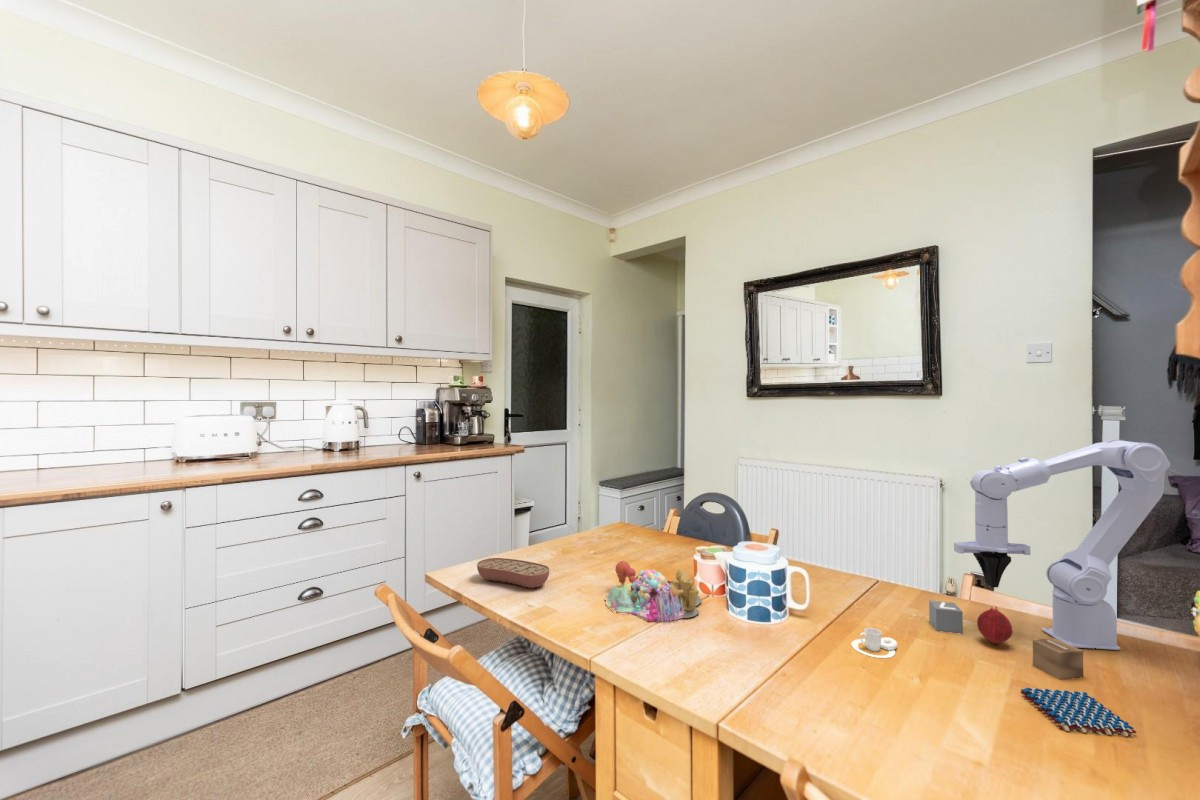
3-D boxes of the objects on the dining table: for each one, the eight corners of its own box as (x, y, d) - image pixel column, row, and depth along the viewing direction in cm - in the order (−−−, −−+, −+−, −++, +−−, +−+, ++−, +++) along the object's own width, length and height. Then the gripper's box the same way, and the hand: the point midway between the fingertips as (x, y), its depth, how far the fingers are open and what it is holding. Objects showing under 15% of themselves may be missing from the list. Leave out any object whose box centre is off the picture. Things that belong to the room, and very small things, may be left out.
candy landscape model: (694, 586, 140) (694, 553, 140) (712, 624, 116) (711, 584, 116) (604, 587, 140) (604, 554, 140) (604, 624, 117) (603, 585, 117)
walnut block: (1055, 664, 98) (1055, 637, 98) (1083, 678, 93) (1083, 650, 93) (1032, 665, 97) (1032, 639, 97) (1059, 680, 92) (1059, 652, 92)
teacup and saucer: (894, 645, 106) (894, 625, 106) (903, 663, 99) (903, 643, 99) (848, 638, 109) (848, 620, 109) (854, 656, 102) (854, 636, 102)
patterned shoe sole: (470, 582, 144) (470, 565, 144) (492, 571, 153) (492, 555, 153) (537, 595, 134) (537, 577, 134) (557, 583, 143) (556, 565, 143)
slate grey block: (954, 624, 115) (954, 602, 115) (962, 634, 110) (962, 611, 110) (929, 621, 116) (929, 599, 116) (936, 631, 112) (936, 608, 112)
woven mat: (1141, 742, 76) (1141, 728, 76) (1062, 735, 78) (1062, 722, 78) (1086, 701, 86) (1086, 689, 86) (1017, 696, 88) (1017, 684, 88)
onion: (1018, 652, 102) (1018, 612, 102) (986, 649, 103) (986, 610, 103) (1002, 638, 108) (1001, 601, 108) (971, 636, 109) (971, 599, 109)
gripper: (967, 528, 108) (967, 591, 108) (1040, 529, 107) (1041, 593, 107) (948, 520, 115) (949, 579, 115) (1017, 521, 114) (1017, 581, 114)
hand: (992, 585), depth 112 cm, fingers closed
